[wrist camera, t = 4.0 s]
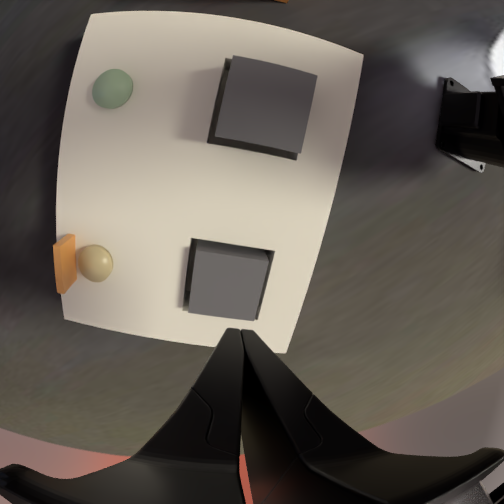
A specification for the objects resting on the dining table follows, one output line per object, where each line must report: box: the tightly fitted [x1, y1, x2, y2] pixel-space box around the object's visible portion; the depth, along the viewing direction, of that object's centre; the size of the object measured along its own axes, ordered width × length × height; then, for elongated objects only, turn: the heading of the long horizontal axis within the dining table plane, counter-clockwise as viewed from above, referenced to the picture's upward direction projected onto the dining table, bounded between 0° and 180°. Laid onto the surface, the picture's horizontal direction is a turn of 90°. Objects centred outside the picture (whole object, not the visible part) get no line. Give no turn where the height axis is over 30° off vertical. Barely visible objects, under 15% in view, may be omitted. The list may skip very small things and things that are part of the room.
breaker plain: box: [215, 55, 318, 154], centre depth 13 cm, size 4×4×3 cm
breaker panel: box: [53, 11, 364, 353], centre depth 15 cm, size 16×20×5 cm
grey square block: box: [188, 239, 269, 321], centre depth 18 cm, size 4×4×3 cm
